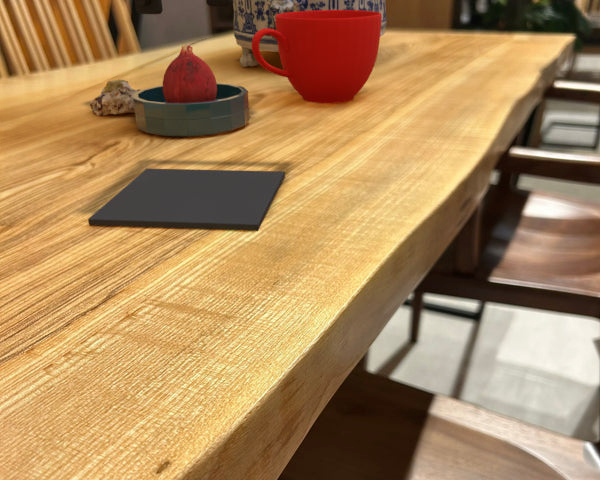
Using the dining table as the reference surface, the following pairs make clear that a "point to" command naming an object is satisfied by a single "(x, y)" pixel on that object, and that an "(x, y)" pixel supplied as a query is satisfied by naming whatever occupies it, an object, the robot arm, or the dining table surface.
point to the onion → (189, 79)
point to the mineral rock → (114, 99)
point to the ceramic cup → (324, 51)
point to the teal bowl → (191, 112)
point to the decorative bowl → (267, 3)
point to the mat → (193, 200)
